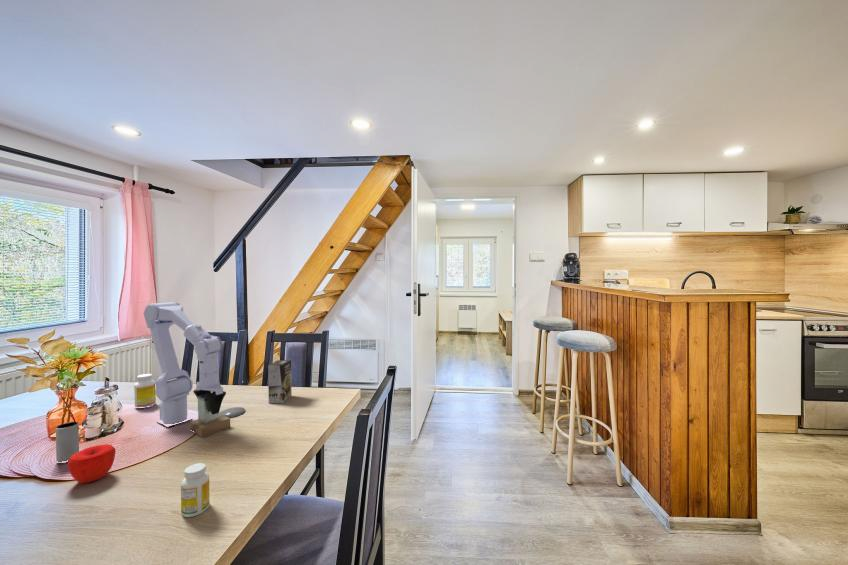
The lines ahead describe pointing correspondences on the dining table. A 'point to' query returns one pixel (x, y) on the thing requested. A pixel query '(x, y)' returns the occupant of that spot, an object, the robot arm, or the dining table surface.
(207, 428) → the tan flat square block
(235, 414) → the slate coaster
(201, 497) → the supplement bottle
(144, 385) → the supplement bottle
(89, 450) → the apple
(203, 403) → the tea tin
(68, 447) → the grey tin can
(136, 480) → the dining table surface
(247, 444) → the dining table surface
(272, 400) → the coffee box
